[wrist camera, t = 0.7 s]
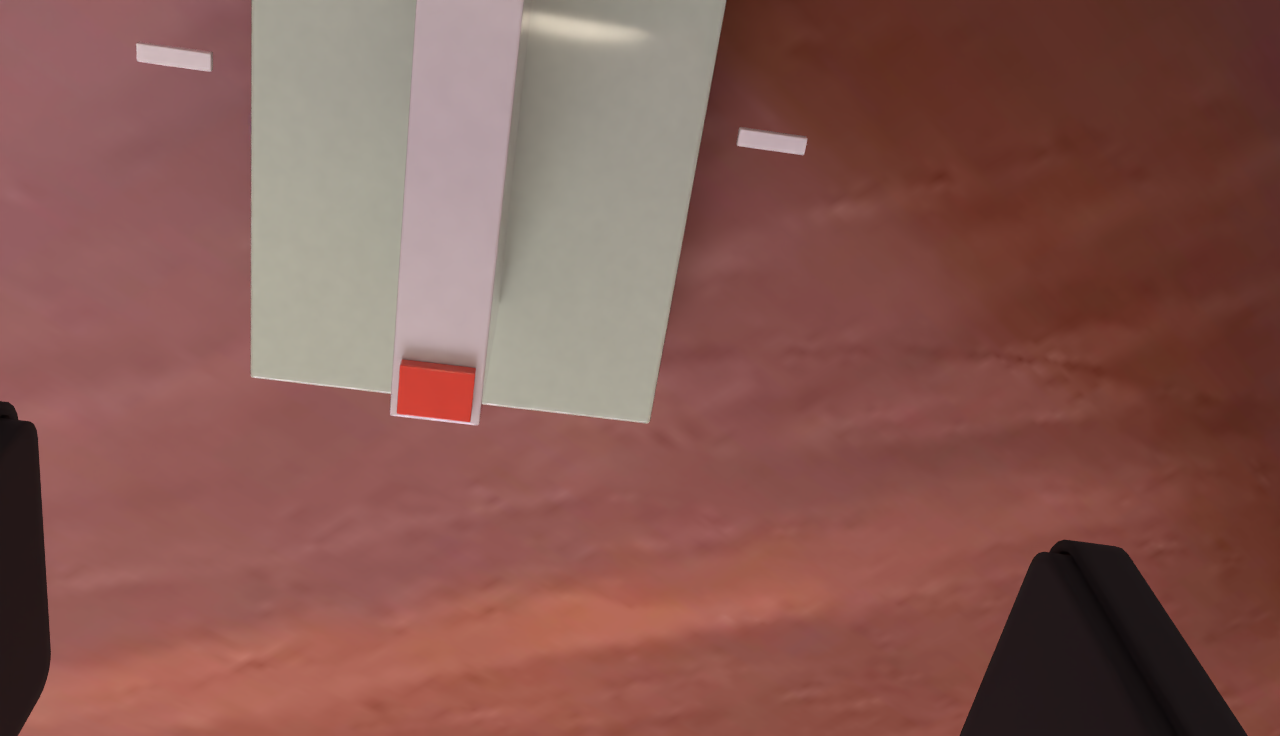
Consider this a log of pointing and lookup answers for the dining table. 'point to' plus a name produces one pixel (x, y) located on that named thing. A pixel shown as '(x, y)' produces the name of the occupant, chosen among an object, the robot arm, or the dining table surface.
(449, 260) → the white rectangular block
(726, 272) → the dining table surface
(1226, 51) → the dining table surface
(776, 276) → the dining table surface
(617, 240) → the base
